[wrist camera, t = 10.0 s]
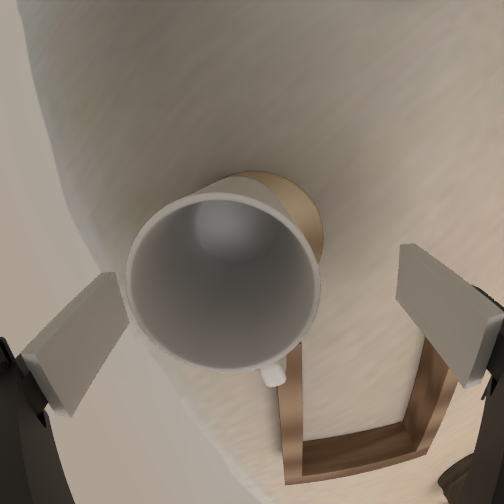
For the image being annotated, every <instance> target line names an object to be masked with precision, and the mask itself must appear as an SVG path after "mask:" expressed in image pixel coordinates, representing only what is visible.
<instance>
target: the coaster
mask: <svg viewBox="0 0 504 504" xmlns="http://www.w3.org/2000/svg"><path fill="white" fill-rule="evenodd" d="M229 177H247V178H251V179H254V180H256V181H258V182H260V183H262V184H263V185H265V186H266V187H267V188H268V189H270V190H271V192H272V193H273V194H274V195H275V196H276V197H277V198H278V200H279V201H280V202H281V204H282V205H283V207H284V208H285V209H286V211H287V212H288V213H289V215H290V216H291V217H292V219H293V220H294V221H295V223H296V224H297V226H298V227H299V228H300V230H301V232H302V233H303V235H304V236H305V238H306V240H307V241H308V243H309V245H310V247H311V249H312V251H313V253H314V255H315V258H316V261H317V264H318V263H319V261H320V257H321V254H322V249H323V227H322V223H321V219H320V216H319V214H318V211H317V209H316V208H315V206H314V204H313V202H312V201H311V200H310V198H309V197H308V196H307V195H306V194H305V193H304V192H303V191H302V190H301V189H300V188H299V187H298V186H296V185H295V184H294V183H292V182H290V181H289V180H287V179H285V178H283V177H280V176H278V175H275V174H271V173H267V172H258V171H251V172H242V173H237V174H234V175H231V176H228V177H226V178H229ZM224 179H225V178H224Z"/></svg>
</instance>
